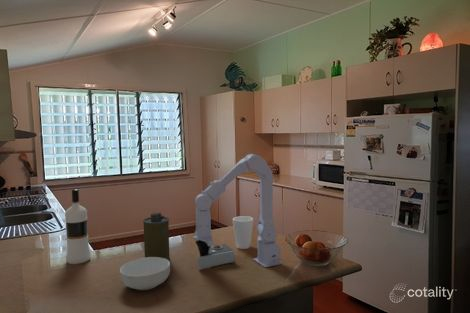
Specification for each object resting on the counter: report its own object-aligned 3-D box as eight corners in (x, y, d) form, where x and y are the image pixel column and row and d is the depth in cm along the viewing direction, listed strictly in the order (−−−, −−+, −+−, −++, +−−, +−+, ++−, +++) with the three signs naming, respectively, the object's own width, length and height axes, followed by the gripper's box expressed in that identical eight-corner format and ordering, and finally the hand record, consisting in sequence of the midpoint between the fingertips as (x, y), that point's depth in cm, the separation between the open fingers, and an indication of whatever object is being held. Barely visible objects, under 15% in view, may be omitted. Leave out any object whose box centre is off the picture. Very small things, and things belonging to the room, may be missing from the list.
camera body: (233, 261, 137) (233, 248, 137) (210, 266, 133) (210, 252, 132) (225, 255, 145) (224, 242, 144) (203, 259, 140) (202, 246, 140)
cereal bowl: (151, 271, 129) (150, 253, 129) (180, 283, 119) (180, 263, 118) (110, 287, 116) (109, 267, 116) (139, 302, 106) (138, 280, 105)
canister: (164, 266, 133) (162, 216, 132) (139, 265, 135) (137, 215, 134) (174, 256, 144) (173, 210, 142) (151, 255, 146) (150, 209, 144)
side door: (234, 261, 136) (234, 251, 136) (198, 269, 129) (198, 257, 129) (233, 260, 137) (233, 250, 137) (197, 268, 130) (197, 257, 130)
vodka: (63, 266, 135) (59, 191, 133) (69, 257, 144) (65, 188, 142) (88, 263, 137) (85, 190, 135) (92, 255, 146) (89, 186, 144)
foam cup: (253, 250, 150) (253, 221, 149) (232, 250, 151) (232, 221, 150) (252, 243, 160) (252, 216, 159) (233, 243, 160) (233, 216, 159)
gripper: (187, 221, 137) (188, 254, 138) (200, 231, 124) (201, 267, 125) (203, 219, 140) (204, 251, 141) (217, 228, 127) (218, 263, 128)
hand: (204, 258), depth 134 cm, fingers closed
